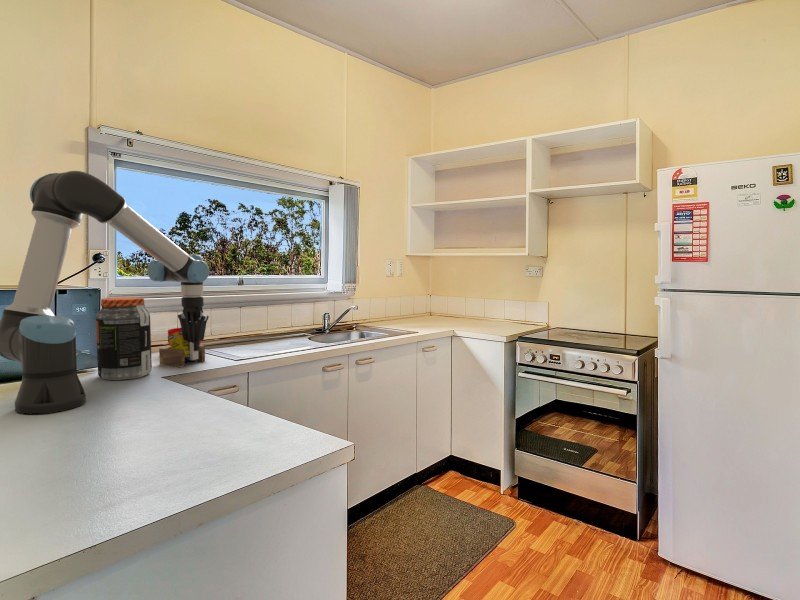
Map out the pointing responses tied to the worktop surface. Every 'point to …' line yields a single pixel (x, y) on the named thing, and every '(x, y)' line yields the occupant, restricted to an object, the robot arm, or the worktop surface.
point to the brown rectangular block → (178, 356)
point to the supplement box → (180, 344)
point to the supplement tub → (123, 339)
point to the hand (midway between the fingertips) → (194, 359)
